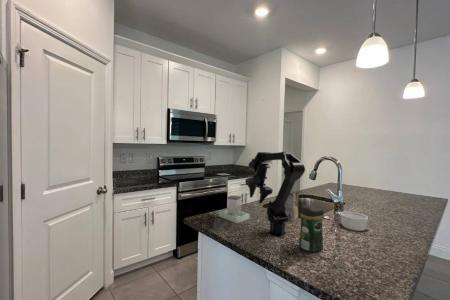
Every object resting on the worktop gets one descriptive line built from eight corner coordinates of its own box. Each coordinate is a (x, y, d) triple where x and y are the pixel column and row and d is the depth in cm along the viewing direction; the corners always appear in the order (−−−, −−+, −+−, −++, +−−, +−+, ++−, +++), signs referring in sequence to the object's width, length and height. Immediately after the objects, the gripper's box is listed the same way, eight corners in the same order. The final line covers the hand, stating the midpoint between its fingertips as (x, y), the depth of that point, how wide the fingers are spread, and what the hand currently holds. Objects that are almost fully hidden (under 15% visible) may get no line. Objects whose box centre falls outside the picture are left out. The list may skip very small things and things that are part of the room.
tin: (240, 216, 129) (241, 196, 129) (236, 219, 124) (237, 198, 124) (231, 214, 132) (232, 195, 132) (226, 217, 127) (227, 197, 127)
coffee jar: (310, 242, 98) (312, 202, 98) (326, 249, 91) (327, 206, 90) (295, 246, 94) (296, 204, 93) (309, 254, 86) (311, 209, 86)
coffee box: (288, 215, 136) (289, 190, 136) (298, 217, 132) (299, 191, 132) (282, 219, 129) (283, 192, 128) (293, 221, 125) (293, 194, 124)
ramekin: (340, 221, 127) (340, 210, 127) (366, 226, 121) (367, 214, 121) (339, 228, 116) (339, 215, 116) (368, 234, 109) (369, 220, 109)
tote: (249, 219, 126) (249, 214, 126) (236, 223, 119) (236, 218, 119) (231, 212, 137) (231, 208, 137) (218, 216, 130) (218, 211, 130)
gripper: (240, 168, 125) (235, 194, 126) (258, 177, 108) (252, 206, 110) (256, 170, 130) (251, 194, 131) (275, 179, 114) (269, 206, 115)
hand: (255, 200), depth 122 cm, fingers open, 9 cm apart
